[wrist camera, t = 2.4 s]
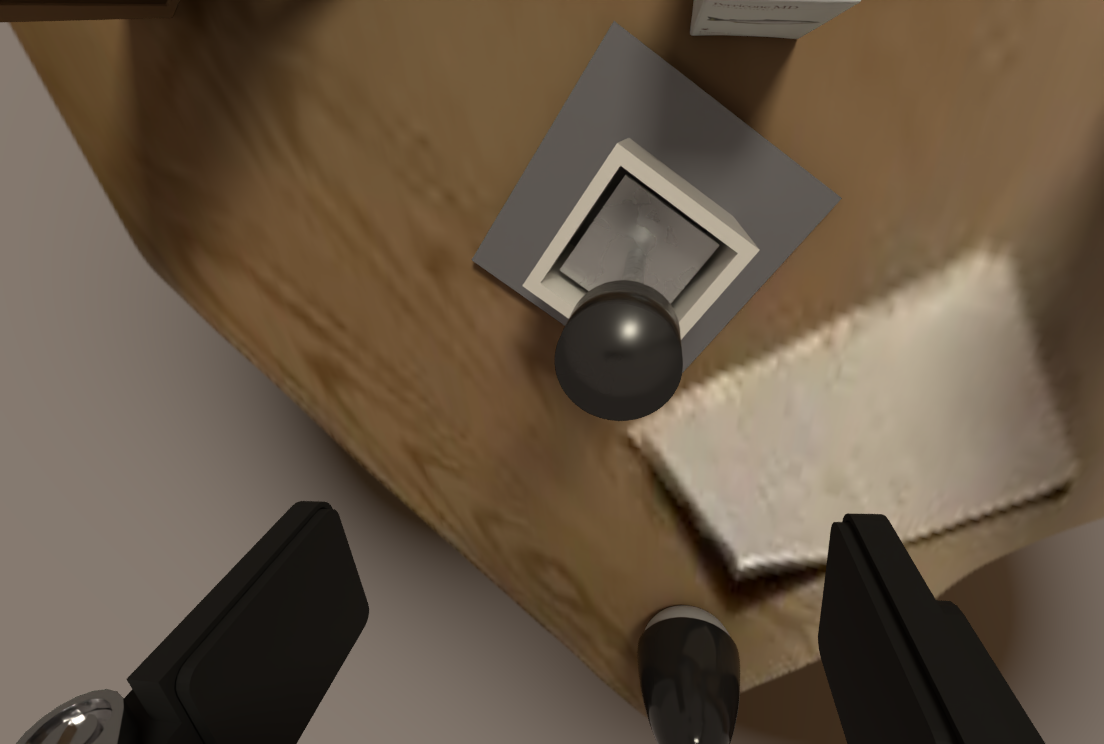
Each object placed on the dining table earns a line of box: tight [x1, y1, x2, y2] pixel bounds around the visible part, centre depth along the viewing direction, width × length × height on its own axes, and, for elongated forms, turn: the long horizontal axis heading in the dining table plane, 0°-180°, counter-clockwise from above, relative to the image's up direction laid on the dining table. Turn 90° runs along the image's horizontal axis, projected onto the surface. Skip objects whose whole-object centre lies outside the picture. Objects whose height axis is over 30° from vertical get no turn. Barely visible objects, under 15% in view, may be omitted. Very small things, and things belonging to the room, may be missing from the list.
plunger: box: [555, 174, 719, 421], centre depth 26 cm, size 7×7×17 cm
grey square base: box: [472, 21, 841, 373], centre depth 37 cm, size 20×20×13 cm
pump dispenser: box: [637, 605, 740, 744], centre depth 52 cm, size 10×10×15 cm
